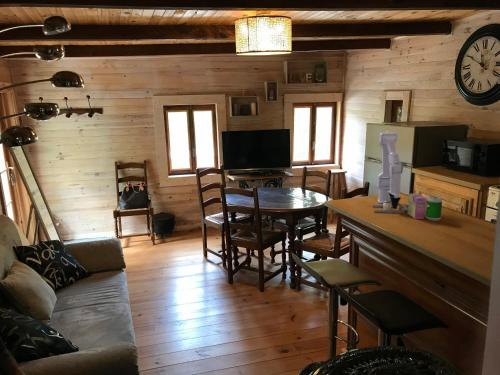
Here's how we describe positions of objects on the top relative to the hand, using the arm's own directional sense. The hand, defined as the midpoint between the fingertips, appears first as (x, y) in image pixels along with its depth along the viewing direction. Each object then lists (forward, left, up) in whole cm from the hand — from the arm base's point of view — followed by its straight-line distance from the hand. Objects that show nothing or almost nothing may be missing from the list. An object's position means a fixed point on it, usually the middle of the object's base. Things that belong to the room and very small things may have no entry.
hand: (394, 206), depth 242 cm
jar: (0, -4, -2) cm, 4 cm away
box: (+11, +11, -2) cm, 16 cm away
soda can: (+16, +18, -2) cm, 25 cm away
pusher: (0, +2, -2) cm, 3 cm away
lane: (0, -2, -2) cm, 3 cm away
